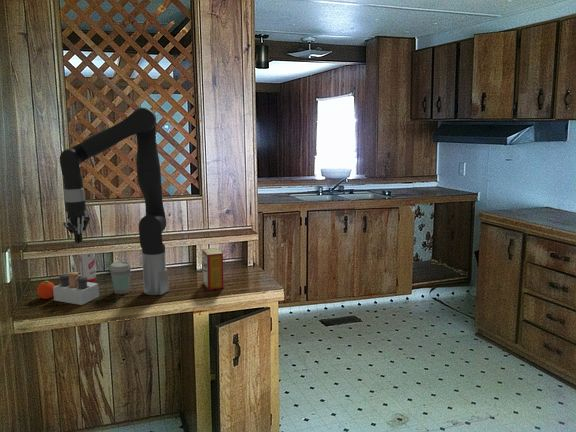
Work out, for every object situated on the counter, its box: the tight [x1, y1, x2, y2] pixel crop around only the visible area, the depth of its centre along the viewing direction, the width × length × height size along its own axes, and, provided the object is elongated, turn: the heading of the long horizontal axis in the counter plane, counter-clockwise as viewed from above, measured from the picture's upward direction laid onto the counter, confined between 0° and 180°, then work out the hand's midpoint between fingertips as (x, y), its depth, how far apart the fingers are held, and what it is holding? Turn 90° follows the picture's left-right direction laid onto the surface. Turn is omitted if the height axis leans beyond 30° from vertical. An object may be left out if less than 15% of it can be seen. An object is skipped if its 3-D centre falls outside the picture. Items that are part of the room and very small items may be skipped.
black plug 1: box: [59, 273, 70, 287], centre depth 210 cm, size 4×4×8 cm
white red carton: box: [78, 252, 97, 283], centre depth 228 cm, size 6×6×16 cm
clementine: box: [36, 280, 56, 300], centre depth 210 cm, size 8×7×7 cm
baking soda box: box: [201, 247, 224, 291], centre depth 225 cm, size 10×6×16 cm
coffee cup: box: [109, 261, 132, 295], centre depth 217 cm, size 8×8×12 cm
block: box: [53, 282, 100, 306], centre depth 210 cm, size 14×10×6 cm
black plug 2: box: [77, 276, 88, 290], centre depth 207 cm, size 4×4×8 cm
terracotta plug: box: [67, 271, 79, 288], centre depth 208 cm, size 4×4×8 cm
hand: (78, 242), depth 209 cm, fingers closed
